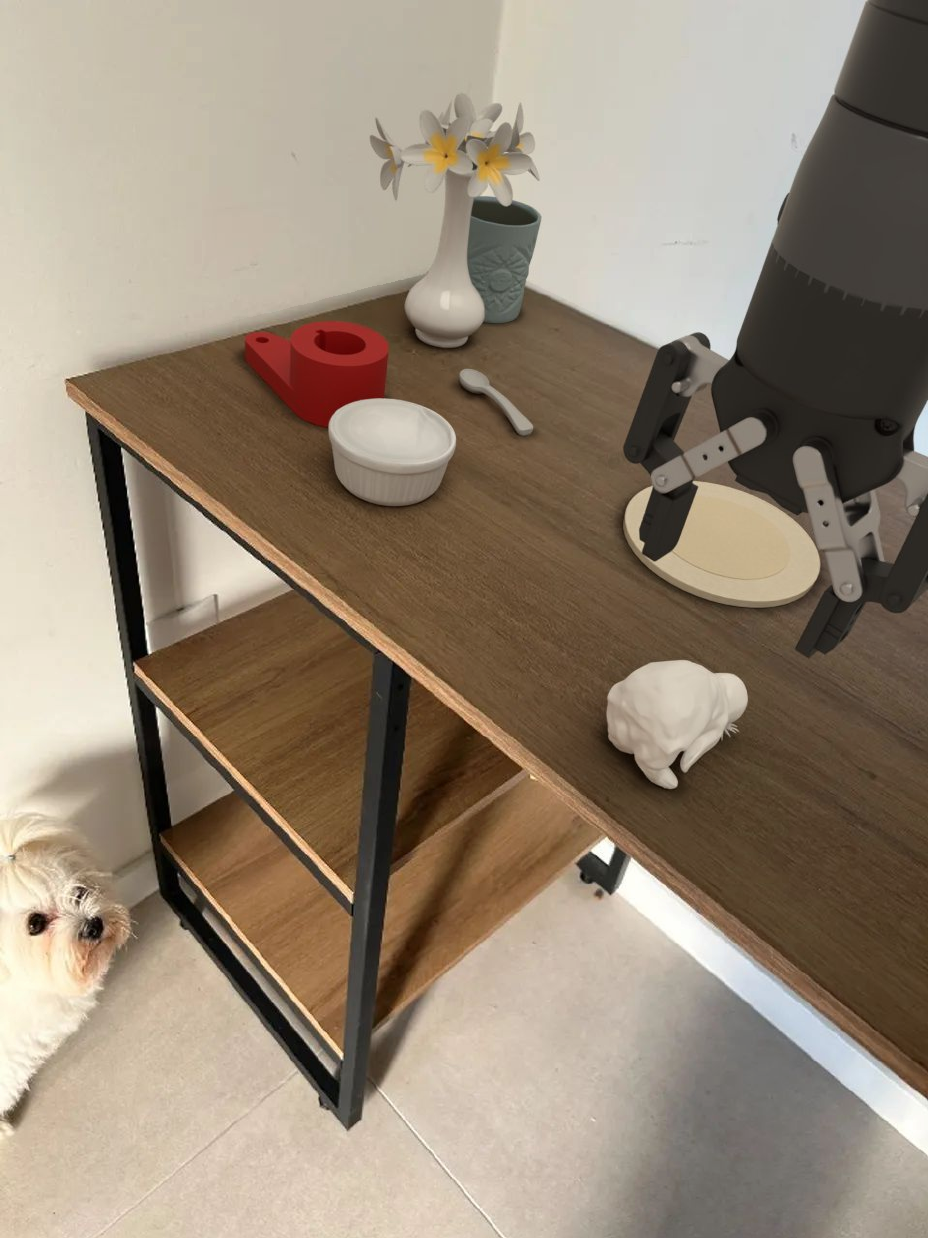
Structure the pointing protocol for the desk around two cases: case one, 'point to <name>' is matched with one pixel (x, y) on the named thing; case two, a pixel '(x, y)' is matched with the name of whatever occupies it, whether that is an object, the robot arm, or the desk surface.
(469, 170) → the flower vase
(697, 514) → the plate
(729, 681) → the white animal figurine
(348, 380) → the lever
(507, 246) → the drinking glass
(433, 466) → the ramekin
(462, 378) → the spoon
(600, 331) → the desk surface
